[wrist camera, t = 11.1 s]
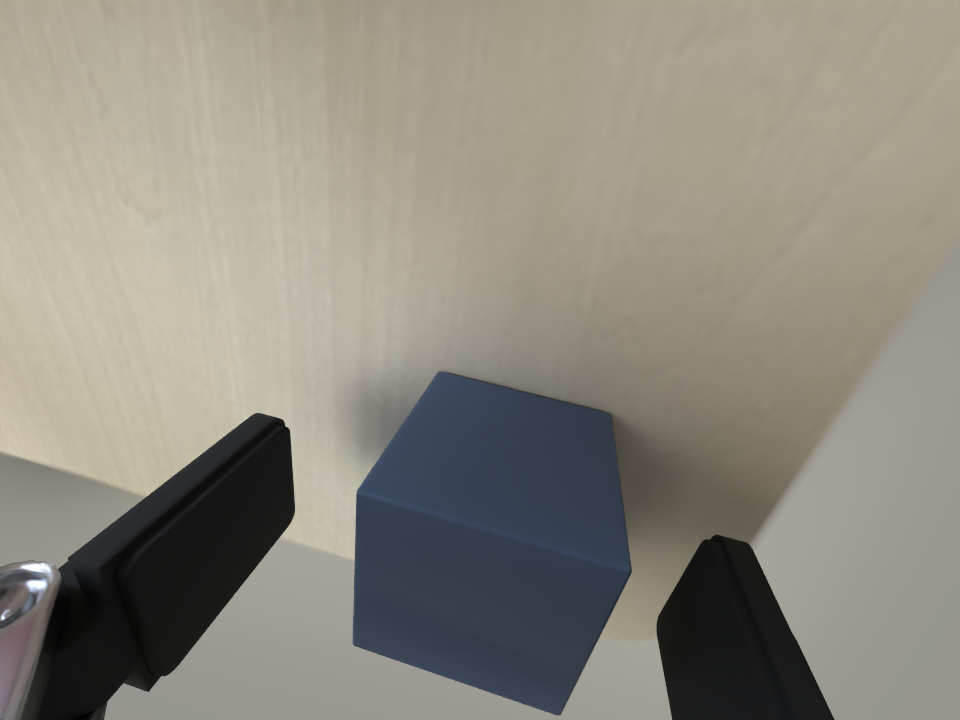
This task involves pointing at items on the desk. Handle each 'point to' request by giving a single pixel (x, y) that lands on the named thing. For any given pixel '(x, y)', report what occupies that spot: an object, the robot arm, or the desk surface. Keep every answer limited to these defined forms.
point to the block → (492, 541)
